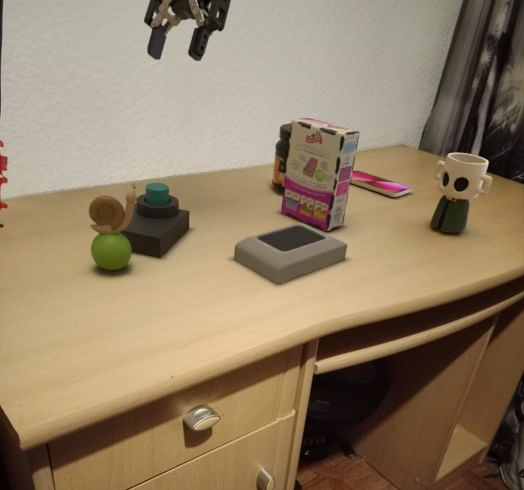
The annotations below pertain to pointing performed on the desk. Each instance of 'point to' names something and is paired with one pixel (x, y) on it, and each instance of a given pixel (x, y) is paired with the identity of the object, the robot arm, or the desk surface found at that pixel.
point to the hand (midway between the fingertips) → (173, 57)
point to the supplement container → (281, 158)
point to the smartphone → (379, 184)
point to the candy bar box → (319, 172)
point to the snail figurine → (111, 230)
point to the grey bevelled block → (289, 252)
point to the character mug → (459, 189)
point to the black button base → (156, 226)
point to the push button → (157, 193)
